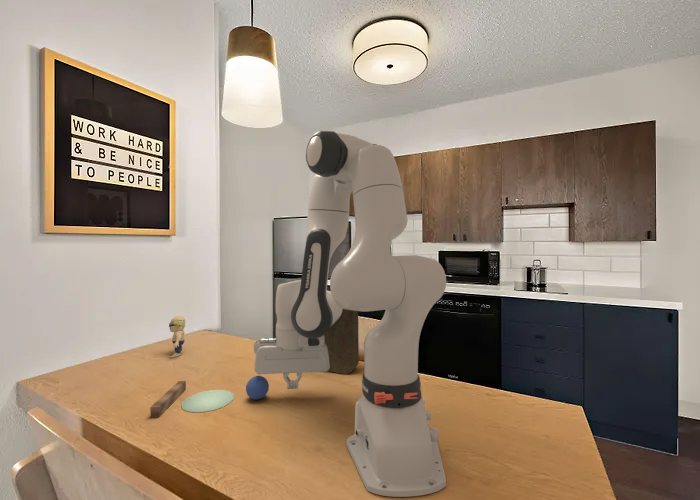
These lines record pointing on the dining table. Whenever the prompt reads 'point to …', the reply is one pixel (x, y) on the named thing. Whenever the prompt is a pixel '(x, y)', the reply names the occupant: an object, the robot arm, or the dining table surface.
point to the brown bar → (167, 399)
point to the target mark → (207, 401)
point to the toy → (177, 334)
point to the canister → (343, 343)
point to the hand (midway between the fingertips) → (293, 388)
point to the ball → (257, 387)
